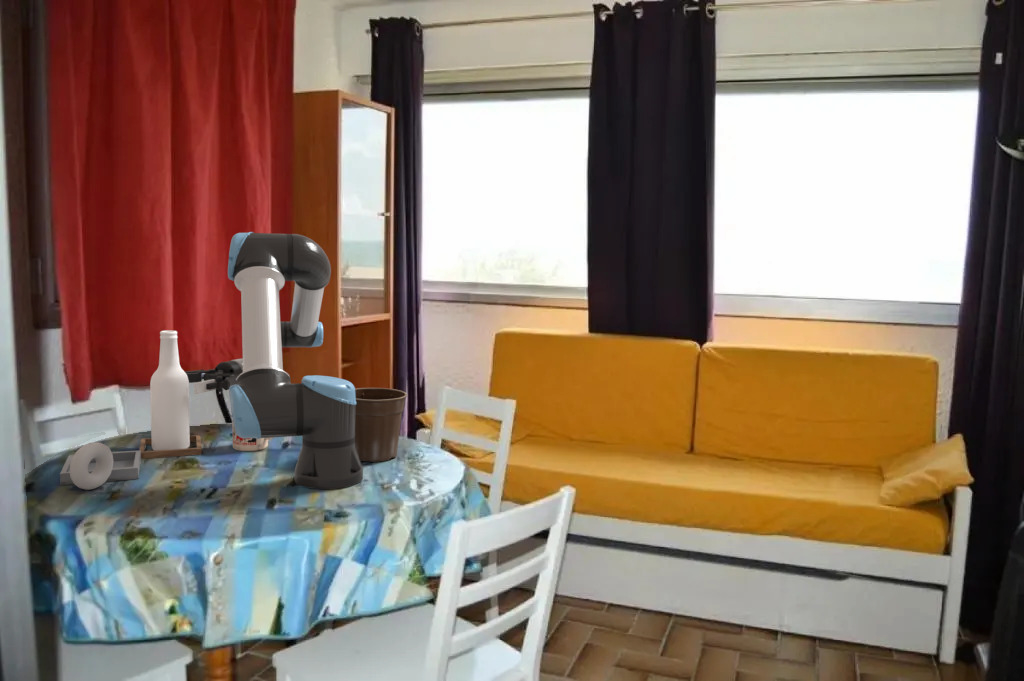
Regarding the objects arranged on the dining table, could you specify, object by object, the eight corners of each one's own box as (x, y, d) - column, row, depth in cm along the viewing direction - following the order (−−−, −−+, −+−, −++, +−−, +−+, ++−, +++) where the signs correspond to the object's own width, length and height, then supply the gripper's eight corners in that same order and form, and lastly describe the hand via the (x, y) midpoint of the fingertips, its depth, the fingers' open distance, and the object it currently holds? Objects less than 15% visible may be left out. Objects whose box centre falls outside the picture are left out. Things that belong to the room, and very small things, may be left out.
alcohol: (144, 452, 192) (141, 332, 188) (164, 443, 201) (162, 328, 197) (177, 455, 191) (175, 334, 187) (196, 446, 199) (194, 330, 196)
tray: (138, 478, 172) (137, 467, 171) (60, 485, 166) (59, 473, 165) (141, 460, 185) (140, 450, 185) (69, 465, 179) (68, 455, 179)
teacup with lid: (224, 450, 196) (224, 405, 195) (243, 441, 205) (243, 398, 204) (268, 454, 194) (268, 408, 193) (285, 445, 203) (285, 401, 202)
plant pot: (393, 445, 207) (394, 385, 205) (415, 460, 193) (416, 397, 191) (333, 450, 199) (333, 389, 197) (351, 467, 185) (351, 401, 183)
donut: (79, 496, 159) (77, 449, 158) (66, 494, 160) (64, 447, 159) (118, 483, 168) (116, 438, 167) (105, 481, 169) (104, 436, 168)
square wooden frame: (201, 454, 192) (201, 448, 192) (139, 458, 186) (138, 452, 186) (200, 440, 205) (200, 434, 205) (141, 444, 199) (141, 438, 199)
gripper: (270, 391, 211) (213, 405, 191) (199, 382, 220) (137, 395, 201) (270, 364, 210) (212, 375, 191) (198, 356, 219) (136, 366, 200)
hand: (174, 385), depth 196 cm, fingers open, 13 cm apart
